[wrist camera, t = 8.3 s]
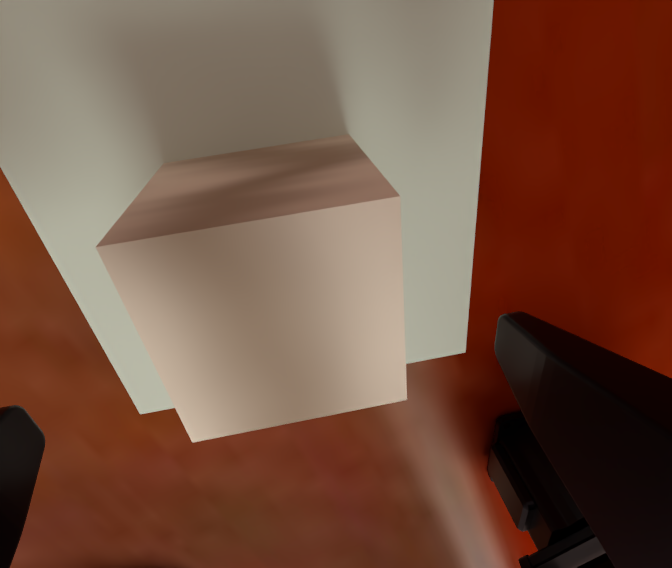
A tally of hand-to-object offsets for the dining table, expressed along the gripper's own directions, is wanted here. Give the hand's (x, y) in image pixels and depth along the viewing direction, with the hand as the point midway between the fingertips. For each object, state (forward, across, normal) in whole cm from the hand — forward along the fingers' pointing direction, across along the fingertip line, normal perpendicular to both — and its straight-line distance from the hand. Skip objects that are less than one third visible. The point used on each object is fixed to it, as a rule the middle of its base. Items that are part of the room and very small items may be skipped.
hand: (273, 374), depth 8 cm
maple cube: (+7, 0, 0) cm, 7 cm away
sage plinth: (+10, 0, 0) cm, 10 cm away
